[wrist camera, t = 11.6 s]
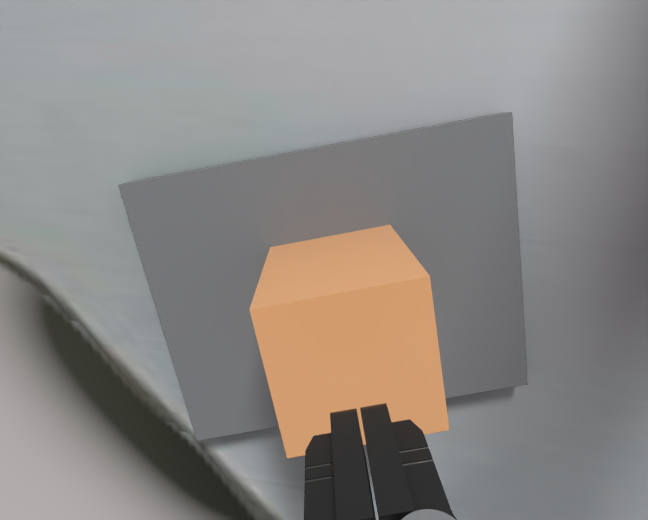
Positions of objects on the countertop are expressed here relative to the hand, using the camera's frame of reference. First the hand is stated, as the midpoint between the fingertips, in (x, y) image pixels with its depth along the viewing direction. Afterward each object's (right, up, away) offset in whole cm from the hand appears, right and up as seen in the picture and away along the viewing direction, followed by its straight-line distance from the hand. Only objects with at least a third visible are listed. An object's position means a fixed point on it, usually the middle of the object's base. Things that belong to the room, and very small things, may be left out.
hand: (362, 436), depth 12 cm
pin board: (0, +3, +12) cm, 12 cm away
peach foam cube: (0, +3, +10) cm, 11 cm away
